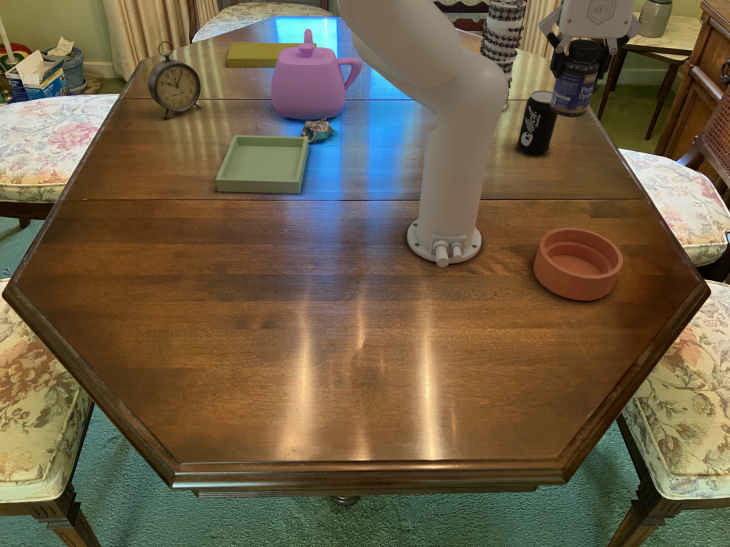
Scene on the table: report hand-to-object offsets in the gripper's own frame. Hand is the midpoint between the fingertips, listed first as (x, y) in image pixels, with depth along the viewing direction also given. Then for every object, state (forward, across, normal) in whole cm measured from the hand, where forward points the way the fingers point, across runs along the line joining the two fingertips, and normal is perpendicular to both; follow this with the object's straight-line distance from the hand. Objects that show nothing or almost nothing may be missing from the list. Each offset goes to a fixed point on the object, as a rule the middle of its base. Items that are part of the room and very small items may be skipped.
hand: (576, 74), depth 90 cm
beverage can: (+24, +1, +18) cm, 30 cm away
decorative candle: (+24, -6, +40) cm, 47 cm away
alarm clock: (+23, -79, +29) cm, 88 cm away
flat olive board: (+24, -63, +64) cm, 94 cm away
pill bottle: (+6, 0, 0) cm, 6 cm away
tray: (+23, -55, +6) cm, 60 cm away
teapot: (+24, -50, +34) cm, 65 cm away
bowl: (+24, 0, -23) cm, 33 cm away
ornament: (+24, -46, +20) cm, 56 cm away
